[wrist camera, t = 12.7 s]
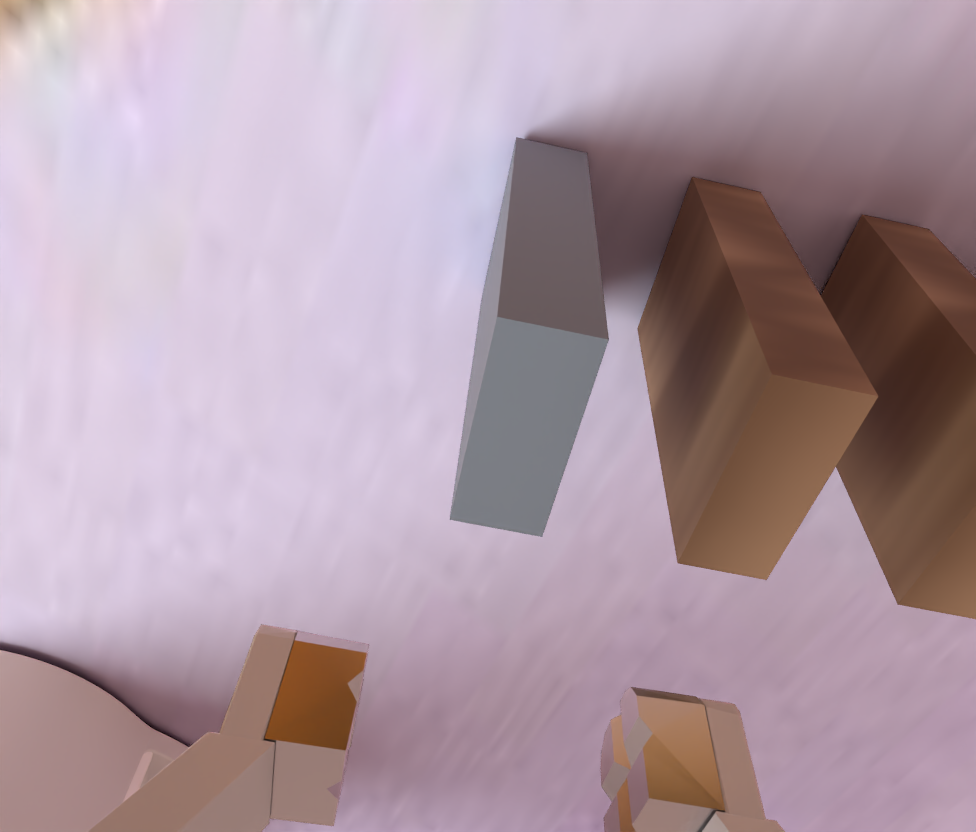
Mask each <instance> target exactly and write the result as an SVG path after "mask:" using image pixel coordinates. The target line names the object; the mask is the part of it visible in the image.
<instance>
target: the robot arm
mask: <svg viewBox="0 0 976 832" xmlns="http://www.w3.org/2000/svg"><path fill="white" fill-rule="evenodd" d="M368 649H369V644H365V643H359V642H354V641H349V640H344V639H338V638H333V637H328V636H322V635H317V634H312V633H307V632H301V631H297V630H291V629H285V628H280V627H274V626H268V625H262V624H261V626H260V627H259V629H258V630H257V632H256V634H255V635H254V638H253V641H252V644H251V646H250V649H249V652H248V655H247V658H246V660H245V663H244V666H243V669H242V671H241V674H240V677H239V680H238V682H237V685H236V688H235V691H234V693H233V696H232V699H231V702H230V705H229V707H228V710H227V713H226V716H225V718H224V721H223V724H222V727H221V729H220V732H219V733H215V732H207V733H206V734H204V735H203V736H202V737H201V738H200V739H198V740H197V741H196V742H195V743H194V744H192V745H191V746H190V747H187V746H186V745H184V744H182V743H180V742H179V741H177V740H175V739H173V738H171V737H169V736H167V735H165V734H163V733H161V732H158V731H156V730H154V729H152V728H151V727H150V726H148V725H147V724H145V723H144V722H143V721H142V720H140V719H139V718H138V717H137V716H136V715H135V714H134V713H133V712H132V711H130V710H129V709H128V708H127V707H126V706H125V705H123V704H122V703H121V702H120V701H118V700H117V699H116V698H114V697H113V696H111V695H110V694H108V693H107V692H105V691H104V690H102V689H101V688H99V687H97V686H96V685H94V684H92V683H90V682H88V681H87V680H85V679H83V678H81V677H79V676H77V675H75V674H73V673H70V672H68V671H66V670H63V669H61V668H59V667H56V666H54V665H51V664H48V663H45V662H43V661H40V660H37V659H33V658H30V657H27V656H23V655H19V654H16V653H11V652H7V651H2V650H0V832H262V830H263V829H264V828H265V827H266V826H267V825H268V824H269V819H270V818H271V819H279V820H288V821H296V822H304V823H312V824H320V825H329V826H334V822H335V817H336V813H337V808H338V803H339V799H340V794H341V789H342V785H343V780H344V775H345V769H346V764H347V758H348V753H349V750H348V749H349V748H350V746H351V741H352V736H353V731H354V726H355V721H356V716H357V712H358V707H359V701H360V696H361V690H362V685H363V680H364V679H363V677H364V672H365V667H366V662H367V656H368ZM620 707H621V715H619V716H617V717H615V718H613V719H611V720H610V723H609V725H608V727H607V730H606V732H605V735H604V740H603V745H602V750H601V767H600V770H601V786H602V788H603V789H604V791H605V792H606V794H607V795H608V797H609V798H610V800H611V801H612V803H611V805H610V807H609V809H608V811H607V813H606V815H605V816H604V830H605V832H785V831H784V830H783V829H782V827H781V826H780V825H779V824H778V822H777V821H774V820H769V819H766V817H765V813H764V809H763V805H762V801H761V797H760V793H759V789H758V785H757V780H756V776H755V772H754V768H753V764H752V760H751V756H750V752H749V748H748V743H747V739H746V735H745V731H744V727H743V723H742V719H741V715H740V712H739V710H738V709H737V707H736V706H735V704H732V703H727V702H720V701H714V700H707V699H700V698H697V697H695V696H689V695H682V694H675V693H669V692H662V691H655V690H649V689H642V688H636V687H630V688H628V689H627V690H626V691H625V693H624V694H623V696H622V698H621V700H620Z"/></svg>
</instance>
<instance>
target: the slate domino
mask: <svg viewBox="0 0 976 832" xmlns="http://www.w3.org/2000/svg"><path fill="white" fill-rule="evenodd" d="M608 340H609V338H608V329H607V321H606V312H605V303H604V295H603V286H602V277H601V269H600V260H599V252H598V243H597V234H596V226H595V217H594V208H593V200H592V191H591V183H590V174H589V165H588V157H587V153H585V152H581V151H576V150H571V149H567V148H562V147H558V146H553V145H549V144H544V143H540V142H535V141H531V140H526V139H522V138H517V137H516V142H515V146H514V151H513V155H512V160H511V165H510V169H509V174H508V178H507V183H506V188H505V192H504V197H503V202H502V206H501V211H500V215H499V220H498V225H497V229H496V234H495V238H494V243H493V248H492V252H491V257H490V262H489V266H488V271H487V275H486V280H485V285H484V289H483V294H482V300H481V307H480V314H479V321H478V327H477V334H476V341H475V348H474V355H473V362H472V369H471V376H470V383H469V390H468V397H467V403H466V410H465V417H464V424H463V431H462V438H461V445H460V452H459V459H458V466H457V473H456V479H455V486H454V493H453V500H452V507H451V514H450V520H455V521H460V522H465V523H471V524H476V525H482V526H487V527H492V528H498V529H503V530H508V531H514V532H519V533H524V534H530V535H535V536H540V537H542V536H543V533H544V530H545V527H546V524H547V521H548V518H549V515H550V512H551V509H552V506H553V503H554V500H555V497H556V494H557V491H558V488H559V485H560V482H561V479H562V476H563V473H564V470H565V467H566V465H567V462H568V459H569V456H570V453H571V450H572V447H573V444H574V441H575V438H576V435H577V432H578V429H579V426H580V423H581V420H582V417H583V414H584V411H585V408H586V405H587V402H588V399H589V396H590V394H591V391H592V388H593V385H594V382H595V379H596V376H597V373H598V370H599V367H600V364H601V361H602V358H603V355H604V352H605V349H606V346H607V343H608Z"/></svg>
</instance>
